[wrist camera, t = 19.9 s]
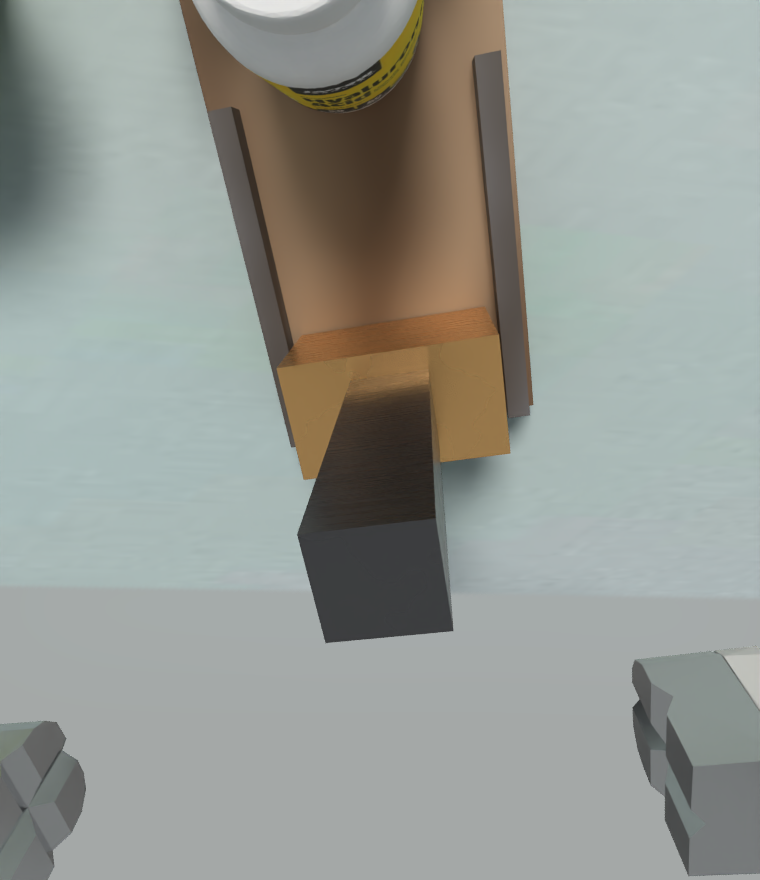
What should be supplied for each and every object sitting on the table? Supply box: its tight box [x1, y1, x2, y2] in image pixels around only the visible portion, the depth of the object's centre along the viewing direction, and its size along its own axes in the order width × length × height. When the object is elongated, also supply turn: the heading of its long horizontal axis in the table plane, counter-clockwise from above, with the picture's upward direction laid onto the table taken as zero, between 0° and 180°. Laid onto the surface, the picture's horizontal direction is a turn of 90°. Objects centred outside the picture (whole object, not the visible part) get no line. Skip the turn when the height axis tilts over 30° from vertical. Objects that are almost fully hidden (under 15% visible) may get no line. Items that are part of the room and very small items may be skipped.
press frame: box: [179, 0, 533, 447], centre depth 18 cm, size 10×20×8 cm, turn 10°
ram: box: [276, 306, 510, 643], centre depth 17 cm, size 7×4×13 cm, turn 100°
